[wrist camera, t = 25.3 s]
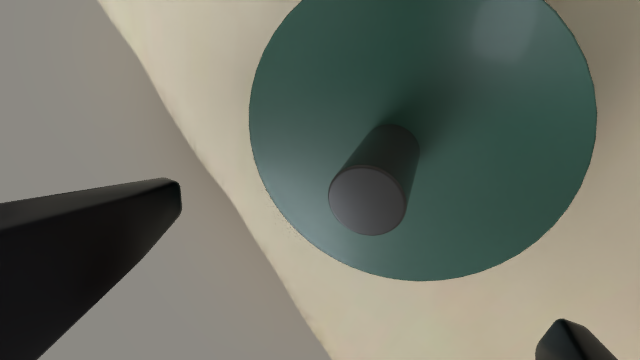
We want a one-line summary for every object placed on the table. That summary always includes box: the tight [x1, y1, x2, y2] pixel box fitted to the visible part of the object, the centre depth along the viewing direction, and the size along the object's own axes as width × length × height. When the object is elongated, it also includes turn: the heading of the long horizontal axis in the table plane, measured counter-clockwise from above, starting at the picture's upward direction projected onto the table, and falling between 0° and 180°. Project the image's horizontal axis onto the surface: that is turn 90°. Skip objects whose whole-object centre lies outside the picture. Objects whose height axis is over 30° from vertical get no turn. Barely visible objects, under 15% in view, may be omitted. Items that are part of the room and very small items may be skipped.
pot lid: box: [249, 0, 597, 281], centre depth 12 cm, size 14×14×6 cm
